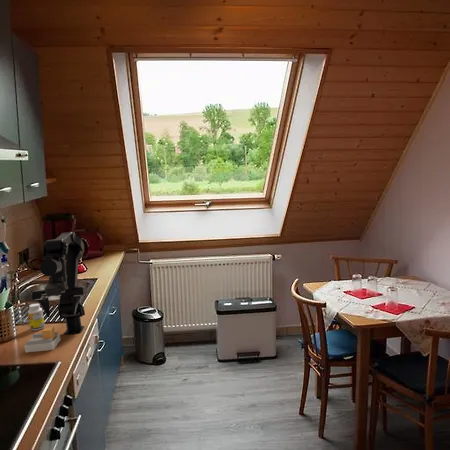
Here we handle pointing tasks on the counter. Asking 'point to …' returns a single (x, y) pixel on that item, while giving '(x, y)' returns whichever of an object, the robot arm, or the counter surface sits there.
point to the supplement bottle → (36, 317)
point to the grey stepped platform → (41, 343)
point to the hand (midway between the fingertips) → (61, 315)
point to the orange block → (48, 333)
